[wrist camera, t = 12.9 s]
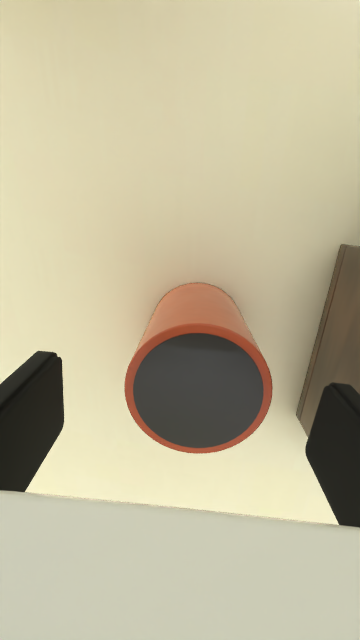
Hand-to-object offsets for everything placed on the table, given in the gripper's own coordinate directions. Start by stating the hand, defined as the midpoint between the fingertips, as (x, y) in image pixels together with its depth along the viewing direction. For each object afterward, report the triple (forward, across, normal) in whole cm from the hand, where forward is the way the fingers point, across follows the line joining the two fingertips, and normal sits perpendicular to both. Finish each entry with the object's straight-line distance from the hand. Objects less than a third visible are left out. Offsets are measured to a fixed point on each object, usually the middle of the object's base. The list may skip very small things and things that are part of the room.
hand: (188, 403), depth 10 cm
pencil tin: (+11, -1, +1) cm, 11 cm away
